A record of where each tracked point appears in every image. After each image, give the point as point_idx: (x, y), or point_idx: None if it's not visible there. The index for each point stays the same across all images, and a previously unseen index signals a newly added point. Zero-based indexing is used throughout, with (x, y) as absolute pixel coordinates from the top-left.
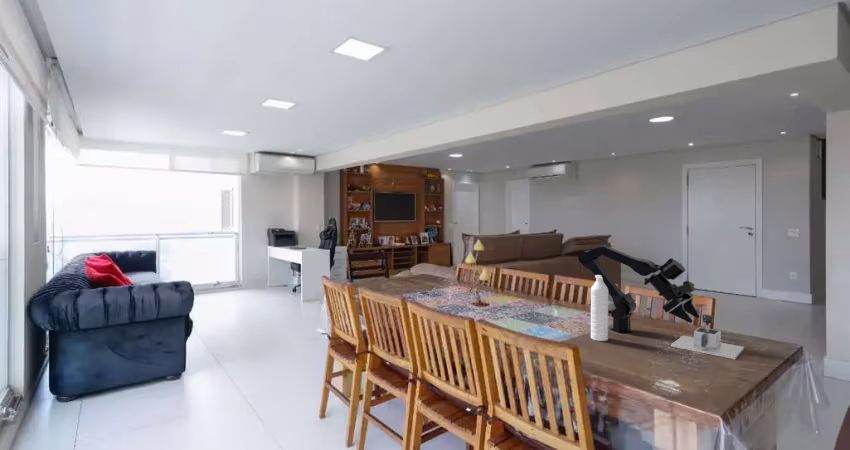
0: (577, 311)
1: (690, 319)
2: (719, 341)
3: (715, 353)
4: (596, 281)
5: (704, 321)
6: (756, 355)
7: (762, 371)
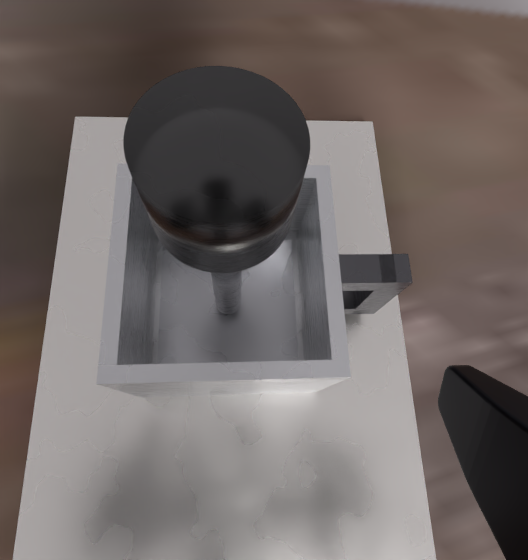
0: None
1: (510, 392)
2: None
3: (386, 222)
4: None
5: (289, 226)
6: (184, 64)
7: (457, 20)
